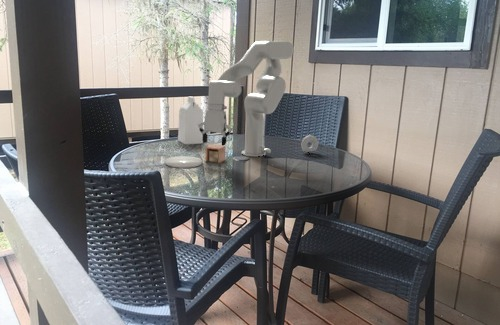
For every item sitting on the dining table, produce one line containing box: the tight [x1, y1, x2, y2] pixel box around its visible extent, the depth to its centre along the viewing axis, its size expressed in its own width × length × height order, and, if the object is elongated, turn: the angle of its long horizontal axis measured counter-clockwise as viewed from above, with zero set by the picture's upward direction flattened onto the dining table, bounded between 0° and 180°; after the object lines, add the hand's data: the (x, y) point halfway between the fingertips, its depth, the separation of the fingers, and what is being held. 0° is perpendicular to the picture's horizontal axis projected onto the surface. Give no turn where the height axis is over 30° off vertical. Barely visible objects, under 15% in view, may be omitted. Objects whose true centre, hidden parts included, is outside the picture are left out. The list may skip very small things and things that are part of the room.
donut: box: [300, 134, 319, 152], centre depth 225 cm, size 10×4×10 cm, turn 112°
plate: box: [164, 155, 203, 169], centre depth 194 cm, size 17×17×1 cm
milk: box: [177, 96, 204, 145], centre depth 240 cm, size 12×12×26 cm
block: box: [208, 149, 218, 163], centre depth 201 cm, size 4×4×5 cm
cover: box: [204, 143, 226, 164], centre depth 201 cm, size 7×7×7 cm
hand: (214, 143), depth 199 cm, fingers open, 9 cm apart
